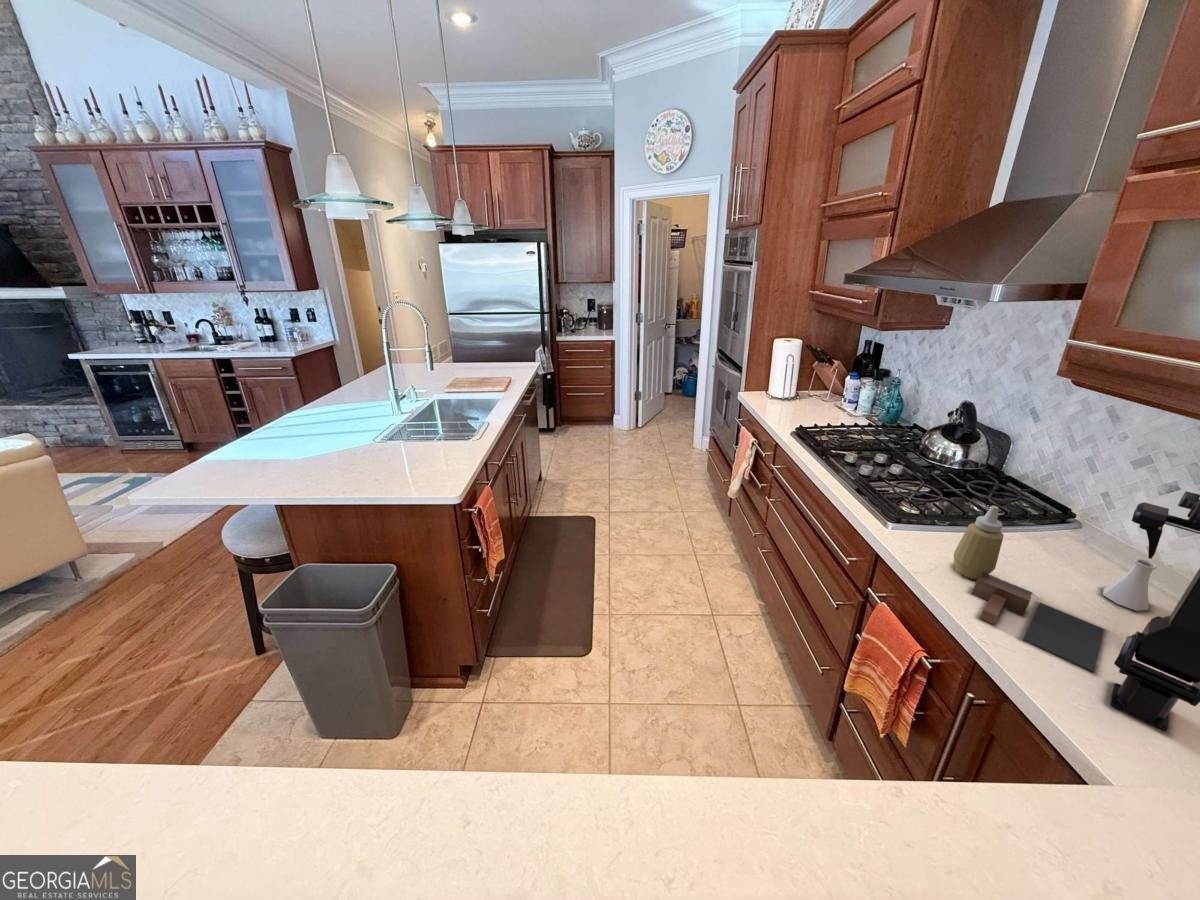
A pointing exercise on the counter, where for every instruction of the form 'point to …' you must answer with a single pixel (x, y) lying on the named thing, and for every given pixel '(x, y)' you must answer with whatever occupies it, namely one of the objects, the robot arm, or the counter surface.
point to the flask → (1132, 586)
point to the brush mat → (1065, 636)
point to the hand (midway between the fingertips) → (1184, 569)
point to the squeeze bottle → (979, 546)
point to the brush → (1000, 597)
